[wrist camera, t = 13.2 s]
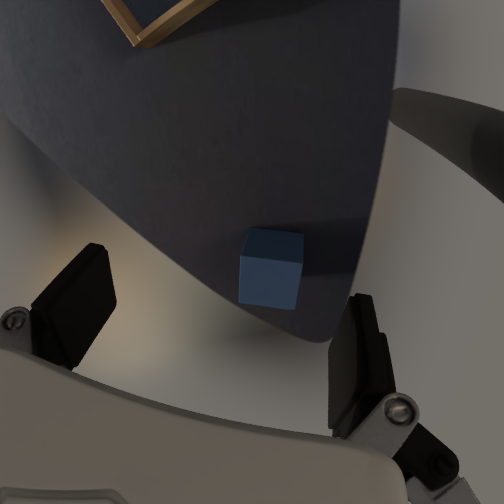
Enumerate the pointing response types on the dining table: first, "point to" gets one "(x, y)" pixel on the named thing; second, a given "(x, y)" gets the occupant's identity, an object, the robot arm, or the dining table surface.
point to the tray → (153, 17)
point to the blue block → (271, 268)
